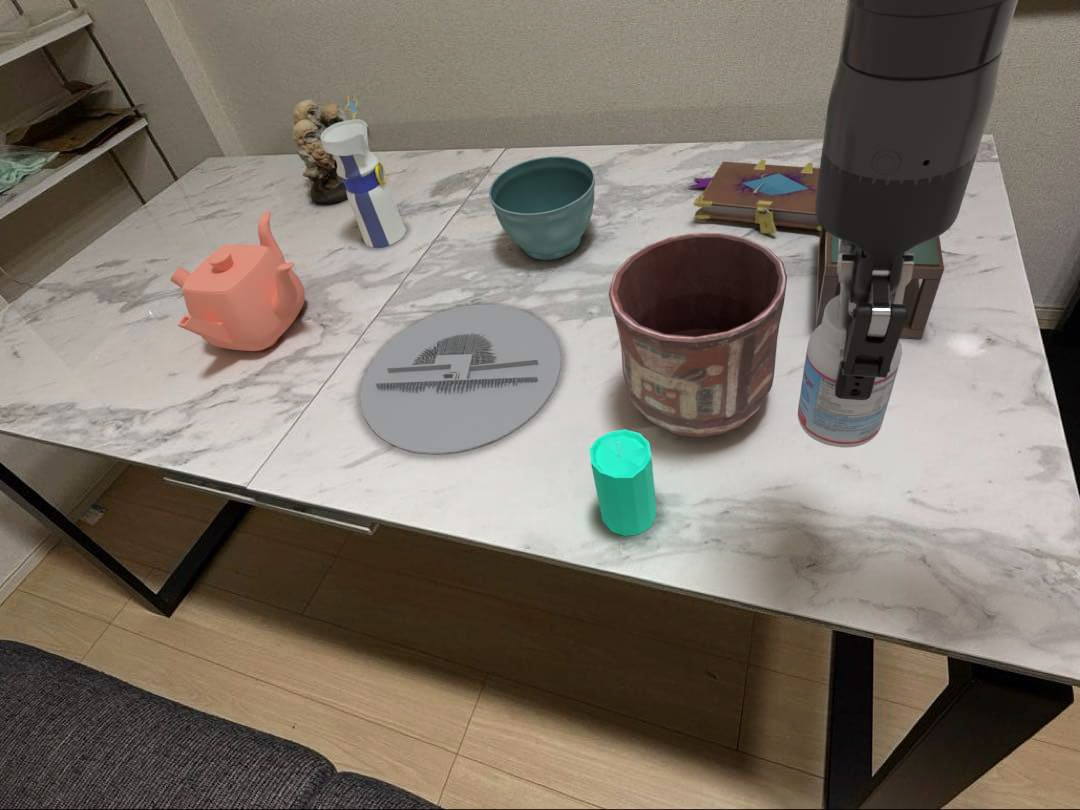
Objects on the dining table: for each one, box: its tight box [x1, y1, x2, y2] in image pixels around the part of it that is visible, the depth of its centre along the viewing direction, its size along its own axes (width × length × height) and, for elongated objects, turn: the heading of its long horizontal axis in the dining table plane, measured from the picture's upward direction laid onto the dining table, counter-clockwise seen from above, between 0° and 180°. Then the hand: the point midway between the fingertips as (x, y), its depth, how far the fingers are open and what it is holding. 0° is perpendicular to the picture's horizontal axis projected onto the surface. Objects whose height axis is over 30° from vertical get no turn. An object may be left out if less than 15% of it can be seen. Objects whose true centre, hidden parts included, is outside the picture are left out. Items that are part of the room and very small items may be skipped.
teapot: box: [170, 210, 306, 352], centre depth 102 cm, size 18×18×14 cm
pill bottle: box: [797, 295, 903, 448], centre depth 48 cm, size 6×6×11 cm
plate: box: [360, 304, 562, 455], centre depth 91 cm, size 28×28×1 cm
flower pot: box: [488, 155, 596, 261], centre depth 104 cm, size 16×16×11 cm
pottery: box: [608, 232, 788, 438], centre depth 74 cm, size 18×18×18 cm
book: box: [687, 159, 822, 234], centre depth 103 cm, size 16×25×5 cm, turn 63°
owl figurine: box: [291, 99, 350, 204], centre depth 129 cm, size 18×12×17 cm, turn 165°
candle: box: [589, 428, 658, 537], centre depth 67 cm, size 6×6×12 cm
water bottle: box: [321, 95, 407, 249], centre depth 110 cm, size 8×9×25 cm
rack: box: [814, 226, 945, 340], centre depth 84 cm, size 12×18×11 cm, turn 163°
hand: (851, 360), depth 48 cm, fingers closed on pill bottle, 6 cm apart
